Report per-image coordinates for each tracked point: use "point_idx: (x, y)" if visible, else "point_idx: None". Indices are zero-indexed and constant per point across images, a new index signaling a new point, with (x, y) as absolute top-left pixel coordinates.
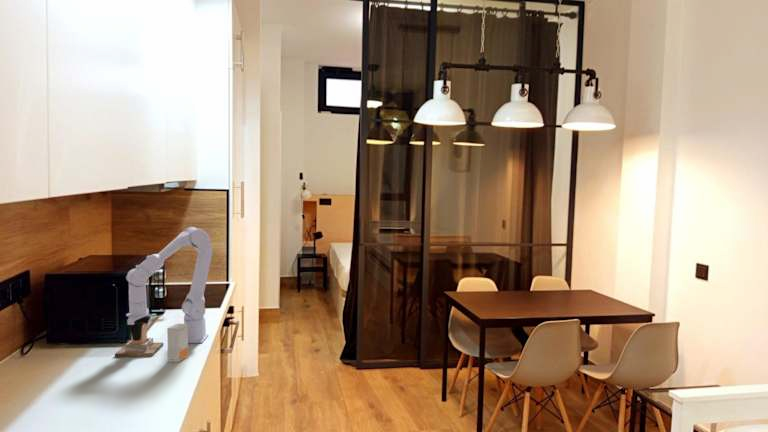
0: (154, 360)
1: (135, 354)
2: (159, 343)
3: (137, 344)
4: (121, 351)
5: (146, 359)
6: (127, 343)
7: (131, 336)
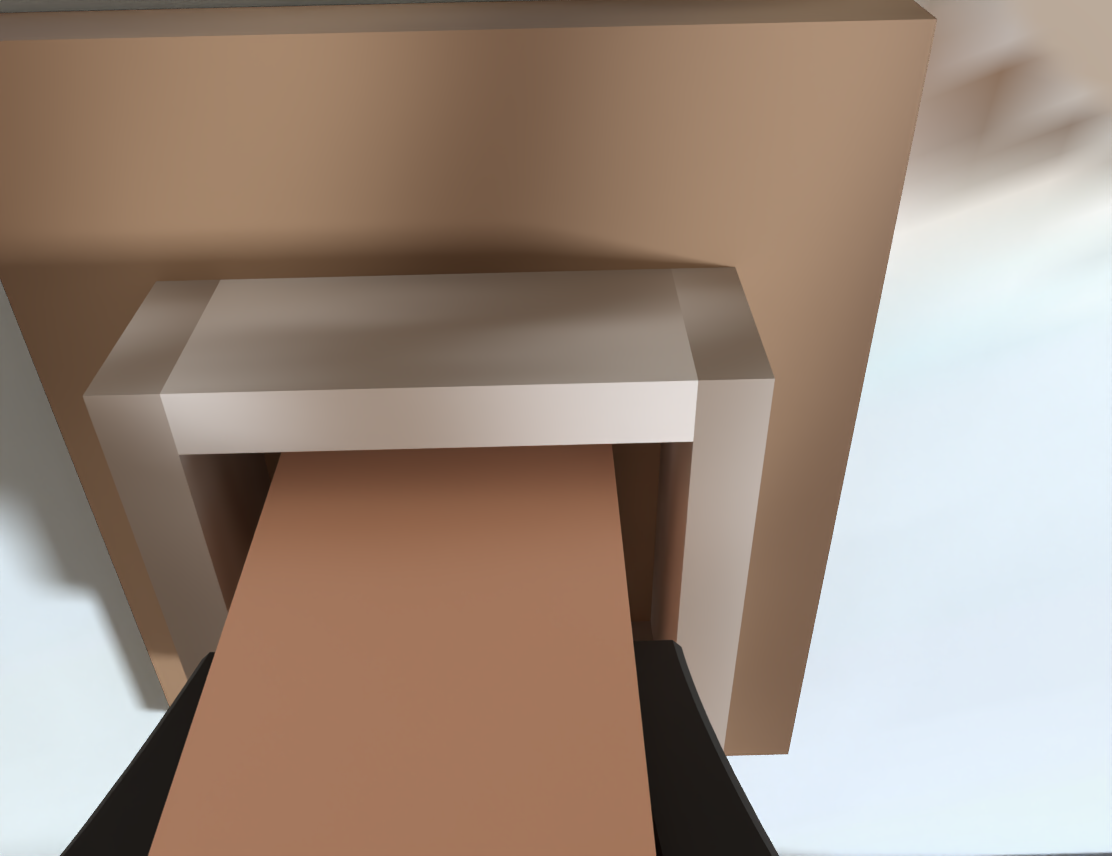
0: (35, 781)
1: (111, 515)
2: (740, 720)
3: (196, 663)
4: (152, 163)
5: (42, 682)
6: (235, 407)
7: (204, 697)
